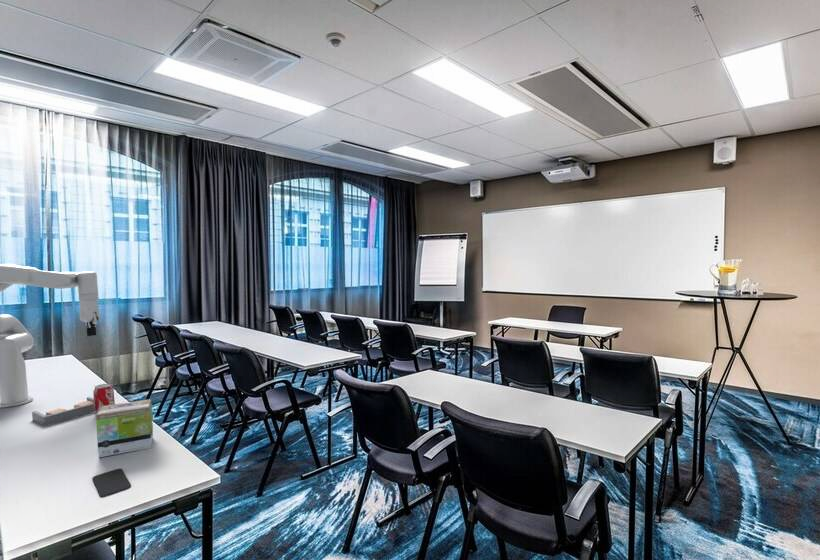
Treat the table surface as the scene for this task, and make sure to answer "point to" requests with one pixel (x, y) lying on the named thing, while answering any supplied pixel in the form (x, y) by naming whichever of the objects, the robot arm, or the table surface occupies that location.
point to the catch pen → (63, 414)
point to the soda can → (103, 396)
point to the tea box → (124, 427)
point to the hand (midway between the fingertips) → (91, 335)
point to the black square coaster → (111, 482)
